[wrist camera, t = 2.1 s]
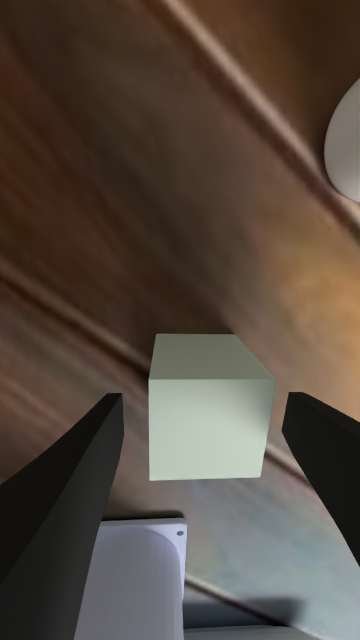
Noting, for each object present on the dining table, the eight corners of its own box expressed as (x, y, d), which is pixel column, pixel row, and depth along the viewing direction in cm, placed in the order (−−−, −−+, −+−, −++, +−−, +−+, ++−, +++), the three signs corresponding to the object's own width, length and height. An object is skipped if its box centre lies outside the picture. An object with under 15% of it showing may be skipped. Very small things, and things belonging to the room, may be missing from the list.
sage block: (227, 401, 14) (260, 476, 9) (156, 402, 13) (149, 480, 9) (234, 334, 12) (276, 379, 8) (156, 333, 12) (148, 379, 7)
